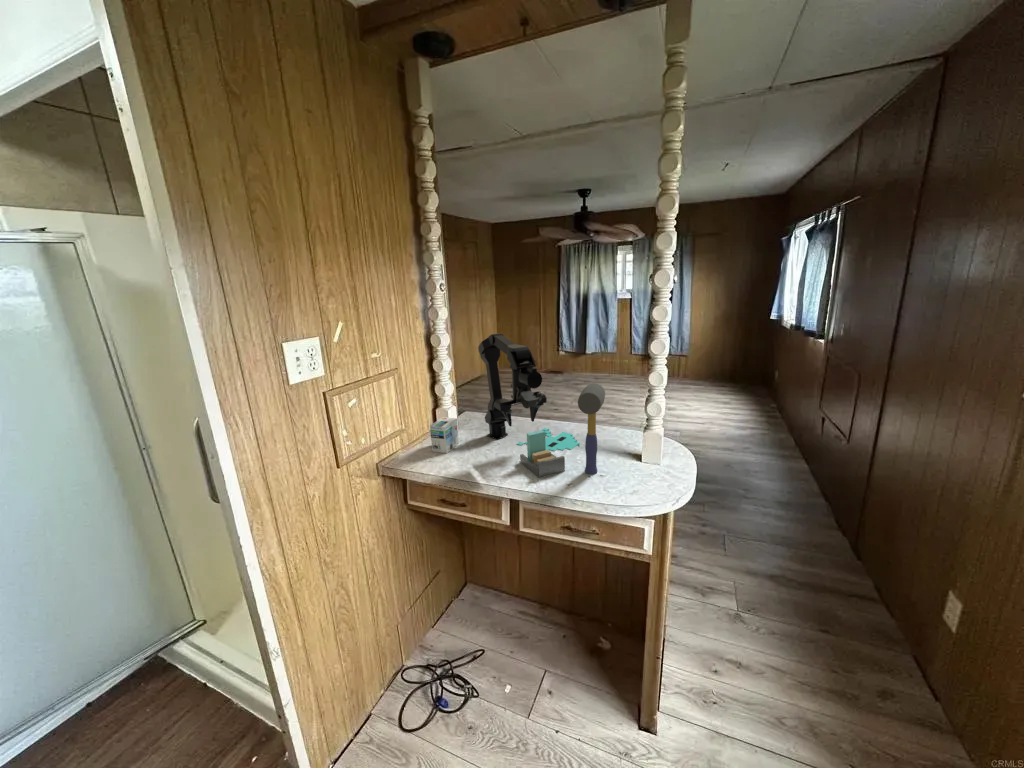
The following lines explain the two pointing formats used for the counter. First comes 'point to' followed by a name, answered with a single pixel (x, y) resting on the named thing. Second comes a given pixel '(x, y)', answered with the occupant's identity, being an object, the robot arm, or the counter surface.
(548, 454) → the offcut
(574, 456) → the counter surface
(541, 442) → the teal rectangular block
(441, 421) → the light bulb box
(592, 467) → the rubber mallet
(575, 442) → the alien figure
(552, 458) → the offcut
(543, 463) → the rack
